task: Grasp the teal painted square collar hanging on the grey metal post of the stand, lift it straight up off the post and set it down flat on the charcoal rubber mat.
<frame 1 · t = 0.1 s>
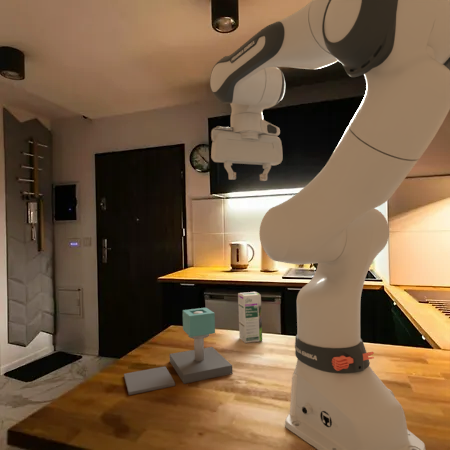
hand: (248, 180, 89), 48 cm above the worktop, fingers open, 8 cm apart
collar: (198, 331, 83), point 9 cm above the worktop, touching stand
syrup box: (250, 340, 103), on the worktop
mat: (148, 380, 77), on the worktop
stand: (199, 367, 83), on the worktop
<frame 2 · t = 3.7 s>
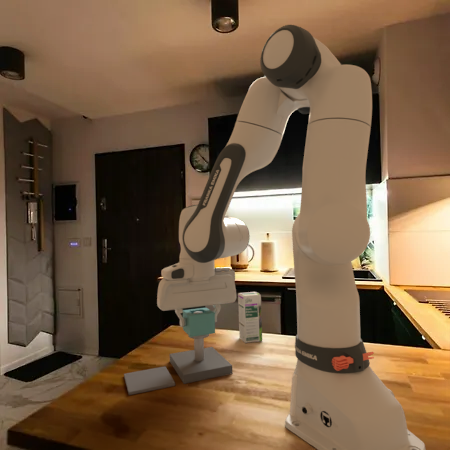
hand: (198, 323, 83), 11 cm above the worktop, fingers closed on collar, 6 cm apart
collar: (198, 331, 83), point 9 cm above the worktop, touching gripper, stand
everything else where it was.
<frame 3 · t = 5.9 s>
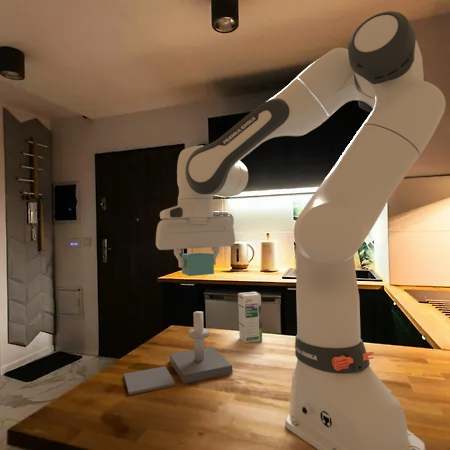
hand: (197, 266, 84), 25 cm above the worktop, fingers closed on collar, 6 cm apart
collar: (197, 273, 84), point 24 cm above the worktop, touching gripper
everything else where it was.
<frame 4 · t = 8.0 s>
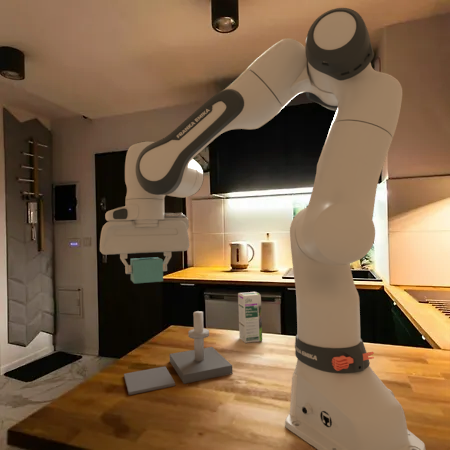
hand: (146, 272, 77), 25 cm above the worktop, fingers closed on collar, 6 cm apart
collar: (146, 280, 77), point 23 cm above the worktop, touching gripper
everything else where it was.
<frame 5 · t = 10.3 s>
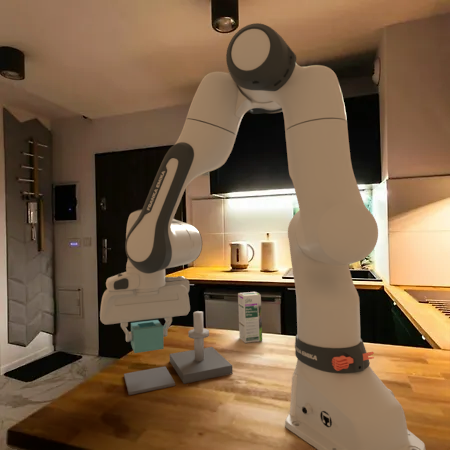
hand: (146, 338, 77), 10 cm above the worktop, fingers closed on collar, 6 cm apart
collar: (146, 346, 77), point 8 cm above the worktop, touching gripper
everything else where it was.
when the fingers open (4 cm above the worktop, at t = 12.5 s): collar drops 2 cm, resting on mat.
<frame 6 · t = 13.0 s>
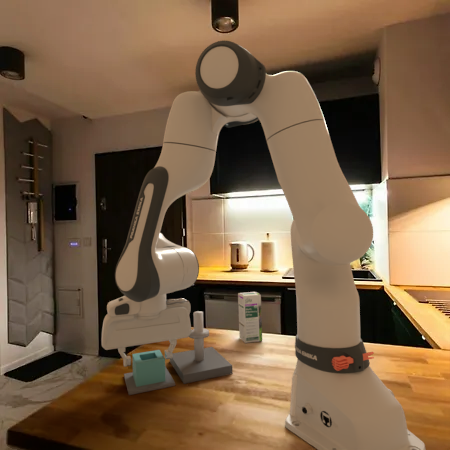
hand: (148, 361, 77), 4 cm above the worktop, fingers open, 8 cm apart
collar: (148, 378, 77), point 1 cm above the worktop, touching mat
everything else where it was.
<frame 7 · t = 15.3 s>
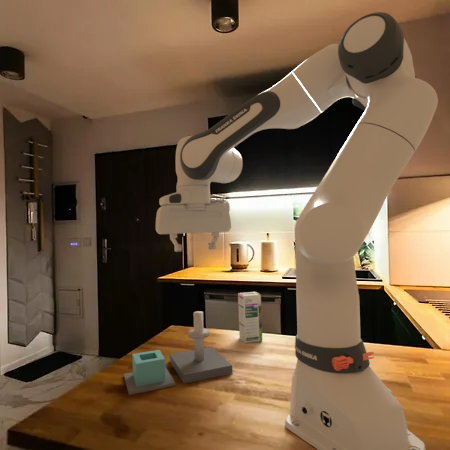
hand: (195, 250, 88), 29 cm above the worktop, fingers open, 8 cm apart
nothing on the worktop moved.
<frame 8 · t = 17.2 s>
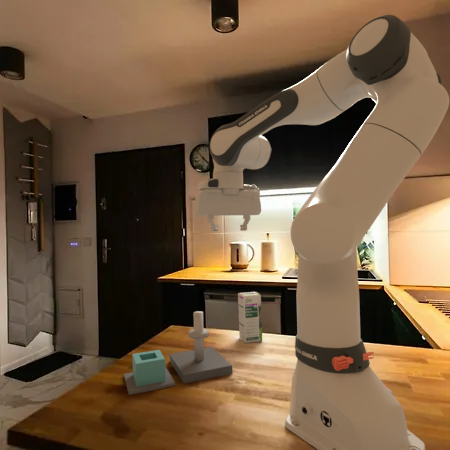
hand: (229, 231, 97), 34 cm above the worktop, fingers open, 8 cm apart
nothing on the worktop moved.
at the end: collar inside the target area on the mat (0.0 cm from its centre), point 0.6 cm above the mat's base; collar tilted 0°; the gripper is holding nothing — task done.
